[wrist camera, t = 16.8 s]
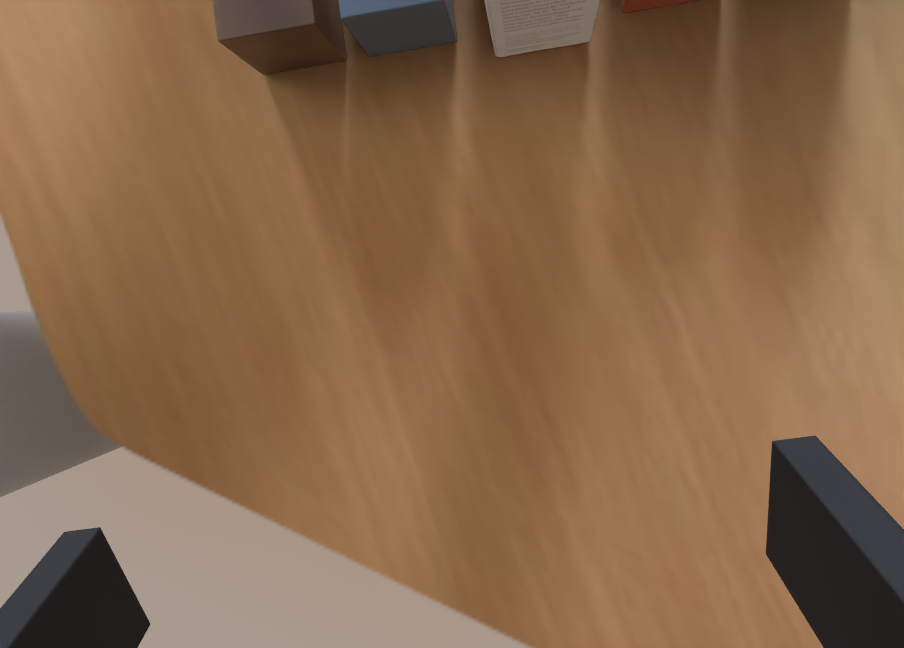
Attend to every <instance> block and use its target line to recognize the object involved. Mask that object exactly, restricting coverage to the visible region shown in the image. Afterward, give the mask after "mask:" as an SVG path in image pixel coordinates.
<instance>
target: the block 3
mask: <svg viewBox="0 0 904 648" xmlns="http://www.w3.org/2000/svg"><path fill="white" fill-rule="evenodd" d="M691 1H697V0H621V4H622V12H623V13H627V12H633V11H639V10H644V9H650V8H656V7H662V6H668V5H674V4H679V3H685V2H691Z"/></svg>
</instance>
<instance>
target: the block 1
mask: <svg viewBox="0 0 904 648" xmlns="http://www.w3.org/2000/svg"><path fill="white" fill-rule="evenodd" d="M213 6H214V14H215V21H216V28H217V36H218V41H219V42H220V43H221V44H223V45H224V46H225V47H227V48H228V49H229V50H231V51H232V52H233V53H235V54H236V55H237V56H239V57H240V58H241V59H243V60H244V61H245V62H247V63H248V64H249V65H251V66H252V67H253V68H255V69H256V70H258V71H259V72H260V73H262V74H263V75H265V74H271V73H277V72H282V71H288V70H294V69H300V68H306V67H312V66H317V65H323V64H329V63H335V62H341V61H346V60H347V58H346V50H345V42H344V33H343V25H342V19H341V16H340V8H339V0H213Z"/></svg>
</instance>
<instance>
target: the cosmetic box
mask: <svg viewBox="0 0 904 648" xmlns="http://www.w3.org/2000/svg"><path fill="white" fill-rule="evenodd" d="M599 3H600V0H485V6H486V11H487V16H488V22H489V27H490V32H491V37H492V42H493V47H494V52H495V56H497V57H505V56H510V55H515V54H521V53H526V52H532V51H538V50H544V49H550V48H556V47H563V46H569V45H575V44H581V43H586V42H589V41H590V40H591V38H592V34H593V29H594V25H595V21H596V16H597V11H598V7H599Z"/></svg>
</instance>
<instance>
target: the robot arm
mask: <svg viewBox="0 0 904 648" xmlns="http://www.w3.org/2000/svg"><path fill="white" fill-rule="evenodd" d="M766 555H767V556H768V558H769V560H770V561H771V563H772V565H773V566H774V568H775V569H776V571H777V573H778V574H779V576H780V577H781V579H782V581H783V582H784V584H785V586H786V587H787V589H788V590H789V592H790V594H791V595H792V597H793V599H794V600H795V602H796V603H797V605H798V607H799V608H800V610H801V612H802V613H803V615H804V616H805V618H806V620H807V621H808V623H809V624H810V626H811V628H812V629H813V631H814V633H815V634H816V636H817V637H818V639H819V641H820V642H821V644H822V646H823V647H824V648H904V529H903V528H902V527H901V526H900V525H899V524H898V523H897V522H896V521H895V520H894V519H893V518H892V517H891V516H890V514H889V513H888V512H887V511H886V510H885V509H884V508H883V507H882V506H881V505H880V504H879V503H878V502H877V501H876V500H875V499H874V497H873V496H872V495H871V494H870V493H869V492H868V491H867V490H866V489H865V488H864V487H863V486H862V485H861V484H860V483H859V482H858V480H857V479H856V478H855V477H854V476H853V475H852V474H851V473H850V472H849V471H848V470H847V469H846V468H845V467H844V466H843V465H842V463H841V462H840V461H839V460H838V459H837V458H836V457H835V456H834V455H833V454H832V453H831V452H830V451H829V450H828V449H827V448H826V446H825V445H824V444H823V443H822V442H821V441H820V440H819V439H818V438H817V437H816V436H809V437H801V438H794V439H786V440H778V441H772V454H771V472H770V490H769V508H768V526H767V544H766ZM149 626H150V622H149V620H148V619H147V617H146V615H145V613H144V611H143V609H142V607H141V606H140V603H139V601H138V599H137V597H136V595H135V594H134V592H133V590H132V588H131V586H130V584H129V582H128V580H127V578H126V576H125V575H124V573H123V571H122V569H121V567H120V565H119V563H118V561H117V559H116V557H115V555H114V553H113V552H112V550H111V548H110V546H109V544H108V542H107V540H106V538H105V536H104V534H103V532H102V530H101V528H92V529H84V530H76V531H68V532H64V533H63V534H62V535H61V537H60V538H59V539H58V540H57V541H56V543H55V544H54V545H53V546H52V547H51V549H50V550H49V551H48V552H47V553H46V555H45V556H44V557H43V558H42V559H41V561H40V562H39V563H38V564H37V566H36V567H35V568H34V569H33V570H32V571H31V573H30V574H29V575H28V576H27V577H26V579H25V580H24V581H23V582H22V583H21V584H20V586H19V587H18V588H17V589H16V591H15V592H14V593H13V594H12V596H11V597H10V598H9V599H8V600H7V601H6V603H5V604H4V605H3V606H2V607H1V608H0V648H137V647H138V645H139V644H140V642H141V640H142V638H143V637H144V635H145V633H146V631H147V629H148V627H149Z"/></svg>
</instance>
